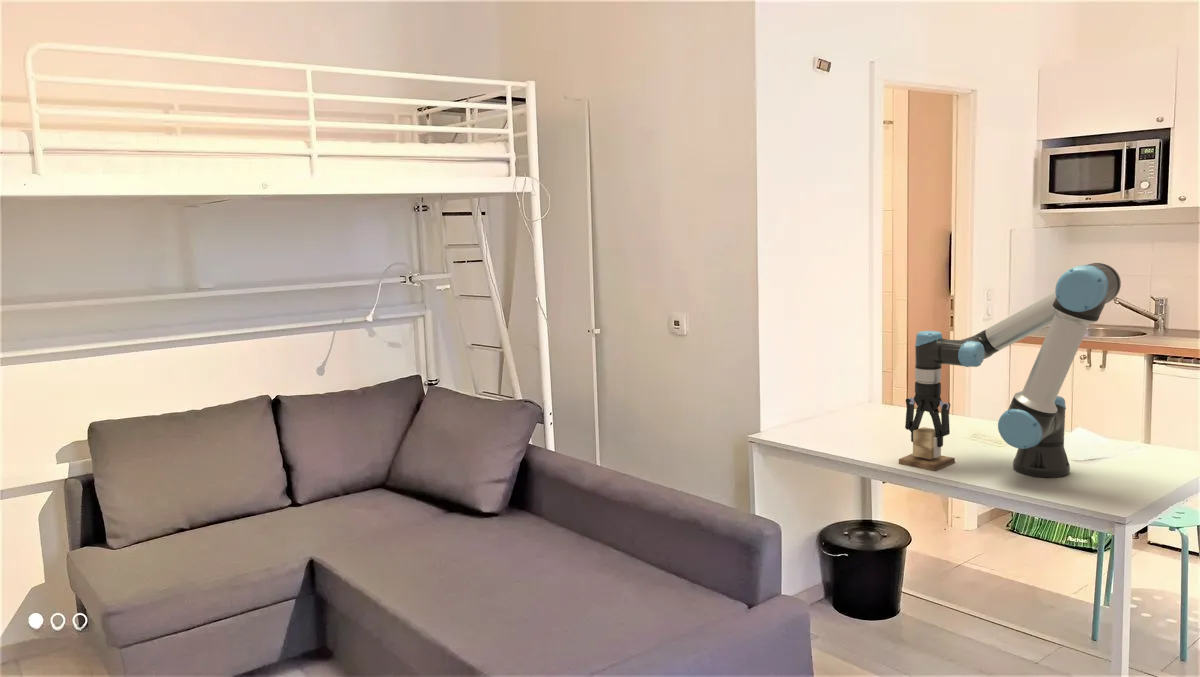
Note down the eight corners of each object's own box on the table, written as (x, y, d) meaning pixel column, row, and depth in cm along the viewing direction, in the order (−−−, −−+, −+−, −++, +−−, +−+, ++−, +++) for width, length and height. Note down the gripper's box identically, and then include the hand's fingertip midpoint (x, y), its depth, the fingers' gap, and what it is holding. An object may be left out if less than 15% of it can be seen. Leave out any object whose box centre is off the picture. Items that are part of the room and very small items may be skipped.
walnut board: (954, 462, 273) (954, 457, 273) (935, 471, 265) (935, 466, 265) (918, 455, 282) (918, 450, 282) (898, 463, 274) (898, 458, 274)
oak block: (940, 455, 273) (941, 429, 272) (930, 459, 269) (931, 433, 268) (922, 451, 278) (923, 426, 276) (912, 455, 274) (913, 430, 272)
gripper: (963, 383, 265) (962, 457, 269) (906, 376, 280) (905, 446, 283) (951, 387, 260) (949, 463, 264) (893, 379, 275) (892, 451, 278)
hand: (926, 454), depth 273 cm, fingers closed on oak block, 6 cm apart
